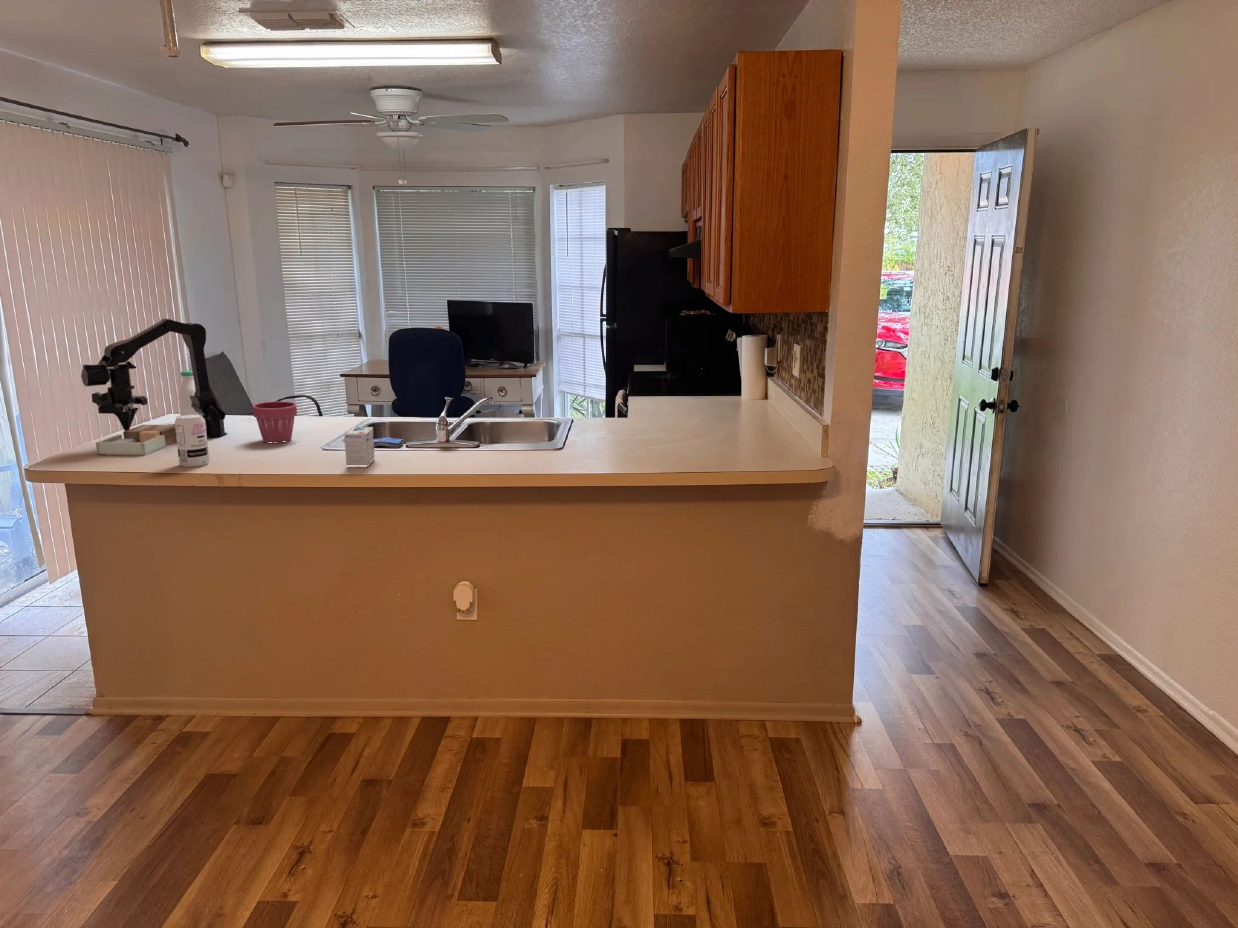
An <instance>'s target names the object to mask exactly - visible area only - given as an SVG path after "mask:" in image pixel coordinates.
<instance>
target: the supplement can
mask: <svg viewBox="0 0 1238 928" xmlns="http://www.w3.org/2000/svg"><path fill="white" fill-rule="evenodd" d="M174 425H175V430H176V439H177V441H176V446H177V454H178V455H177V457H178V464H179V465H181V466H182V467H183V468H197V467H198V468H199V467H203V466H205V465H206V466H207V465H208V463H210V457H209V456H210V455H209V447H208V437H207V435H206V425H205V420H204V418H203V417H202V415H198V414H189V415H181V414H180V415H177V416H176V418H175V420H174Z"/></svg>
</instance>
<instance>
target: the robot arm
mask: <svg viewBox="0 0 1238 928" xmlns="http://www.w3.org/2000/svg"><path fill="white" fill-rule="evenodd" d="M170 332H171V333H176V334H179V335H181V337H182V339H183V342H184V344H185V346H186V347H187V349H188V351H189V359H190V364H191V371H192V372H193V378H194V384H195V394H194V396H190V399H191V402H192V405H191V407H193V408H194V410H195V412H197V413H198V414H199V415H202V417H203V418H204V420H205V425H206V435H207V438H221V437H223V436H226V435H227V434H228V432H225V421H224V420H225V419H226V412H224V410H222V409H220V408H219V407H218V406H219V405H218V403H217V399H216V398H215V395H214V394H213V392H212V390H211V387H210V379H209V374H208V368H207V361H206V356H205V346H206V342H207V330H206V327H205V326H204V325H202V324H200V323H195V322H186V323H185V322H180V321H176V320H173V319H172V318H162V319H160V320H159V321H158V322H157V323H155V324H153V325H151V326H149V327H147V328H145V329H144V330H142V331H140V332H139V333H136V334H134V335H133V336H131V337H129V338H127V339H122V340H119V341H115V342H113V343H110V344H108V345H106V346H105V347H104V350H103V351H104V352H103V353H104V354H103V356H102V357H101V358H100V360H99V362H98V363H97V364H95V363H94V364H82V369H81V374H80V377H81V381H82V384H83V385H84V386H85V387H94V386H95V387H96V386H105V385H107V383H110V386H108V387H107V389H106V392H104V393H101V392H99V391H97V392H93V393H92V394H91V402H92V403H93V404H96V406H97V411H98V414H104V415H105V414H106V415H107V414H108V415H109V414H112V415H115V416H116V417H117V419H118V421H119V423H120V424H121V426H122V428H123V431H128V430H129V429H131V426H132V423H133V421H134V419H135V416H136V414H137V412H138V410H139V409H140V408H139V407H135V405H141V406H146V405H148V404H149V403H148V398H147V397H146V396H145V395H133V389H135V385H133V384H132V382H131V375H130V370H133V369H134V370H135V369H137V366H136V365H135V364H133V363H132V362H131V361H130V359H132V357H133V356H135V354H136V353H137V352H138V351H139V350H140V349H142V348H144V347H146V346H147V345H149V344H151V343H152V342H154V341H156V340H158V339H159V338H161V337H162V336H163V337H164V336H165V335H166V334H168V333H170Z"/></svg>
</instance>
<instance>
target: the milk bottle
mask: <svg viewBox="0 0 1238 928" xmlns="http://www.w3.org/2000/svg"><path fill="white" fill-rule="evenodd" d="M180 377H181V383H180V387H179V390H178V402H179V403H178V404H179V411H180V413H179V414H180V416H181V415H189V414H198V413H197V412H195V410H194V408H193V407H191V405H192V402H191V399H190V396H194V394H195V384H194V378H193V372H192V370H181V371H180ZM198 415H199V414H198Z"/></svg>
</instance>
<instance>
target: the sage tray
mask: <svg viewBox="0 0 1238 928" xmlns="http://www.w3.org/2000/svg"><path fill="white" fill-rule="evenodd" d="M122 436H123V435H122V434H117V435H113V436H111V437H107V438H105V439H102V440H99V441H98V442H97V441H96V442H95V445H96V455H97V454H106V455H105V456H145V457H146V456H147V455H149V454H152V453H155V452H156V451H159V450H162V449H164V448H166V447H167V446H166V444H165V436H164V435H160V436H158V437H155V438H153V439H150V440H148V441H145V442H143V443H120V442H113V441H115V440H118V439H123V437H122Z"/></svg>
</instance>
